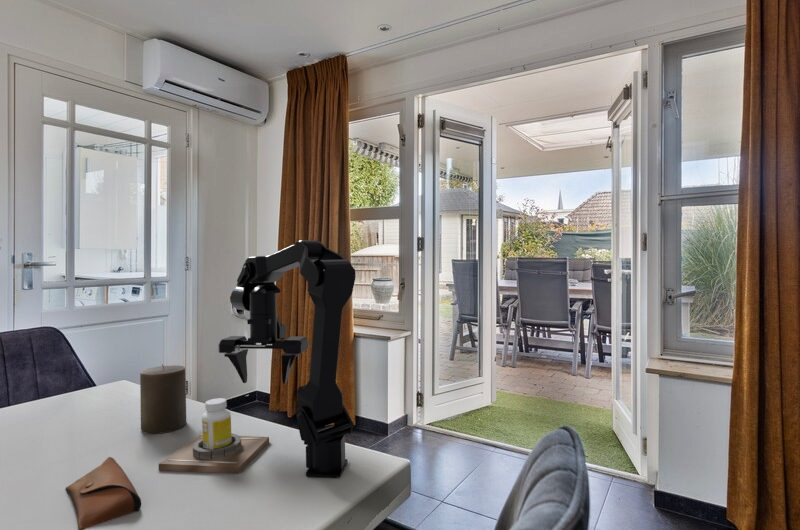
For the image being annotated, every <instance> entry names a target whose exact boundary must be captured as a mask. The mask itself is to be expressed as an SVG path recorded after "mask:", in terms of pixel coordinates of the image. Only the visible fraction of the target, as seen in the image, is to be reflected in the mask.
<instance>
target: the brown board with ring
mask: <svg viewBox="0 0 800 530" xmlns="http://www.w3.org/2000/svg"><path fill="white" fill-rule="evenodd" d="M231 436H232V445H229V446H226V447H224V448H219V449H213V450H209V449H203V434H198V435H197V436H195V437H194V438H193V439H191V440H190V441H188V442H186V444H184V445H183V446H181V447H180V448H179V449H177V450H176V451H174V452H173V453H172V454H170V455H168V456H167V457H166V458H164V459H163V460H161V461H160V462H159V463H158V470H159V471H170V472H171V471H174V472H175V471H176V472H177V471H178V472H196V473H197V472H198V473H199V472H200V473H219V474H220V473H222V474H240V473H241V472H242V471H244V469H245V468H246V467H247V466H248V465H249V464H250V463H251V462H252V461H253V460H254V459H255V458H256V456H258V455H259V454H260V453H261V452H262V450H264V449H265V448H266V447H267V446H268V444H270V436H258V435H256V436H251V435H238V434H236V433H231Z"/></svg>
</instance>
